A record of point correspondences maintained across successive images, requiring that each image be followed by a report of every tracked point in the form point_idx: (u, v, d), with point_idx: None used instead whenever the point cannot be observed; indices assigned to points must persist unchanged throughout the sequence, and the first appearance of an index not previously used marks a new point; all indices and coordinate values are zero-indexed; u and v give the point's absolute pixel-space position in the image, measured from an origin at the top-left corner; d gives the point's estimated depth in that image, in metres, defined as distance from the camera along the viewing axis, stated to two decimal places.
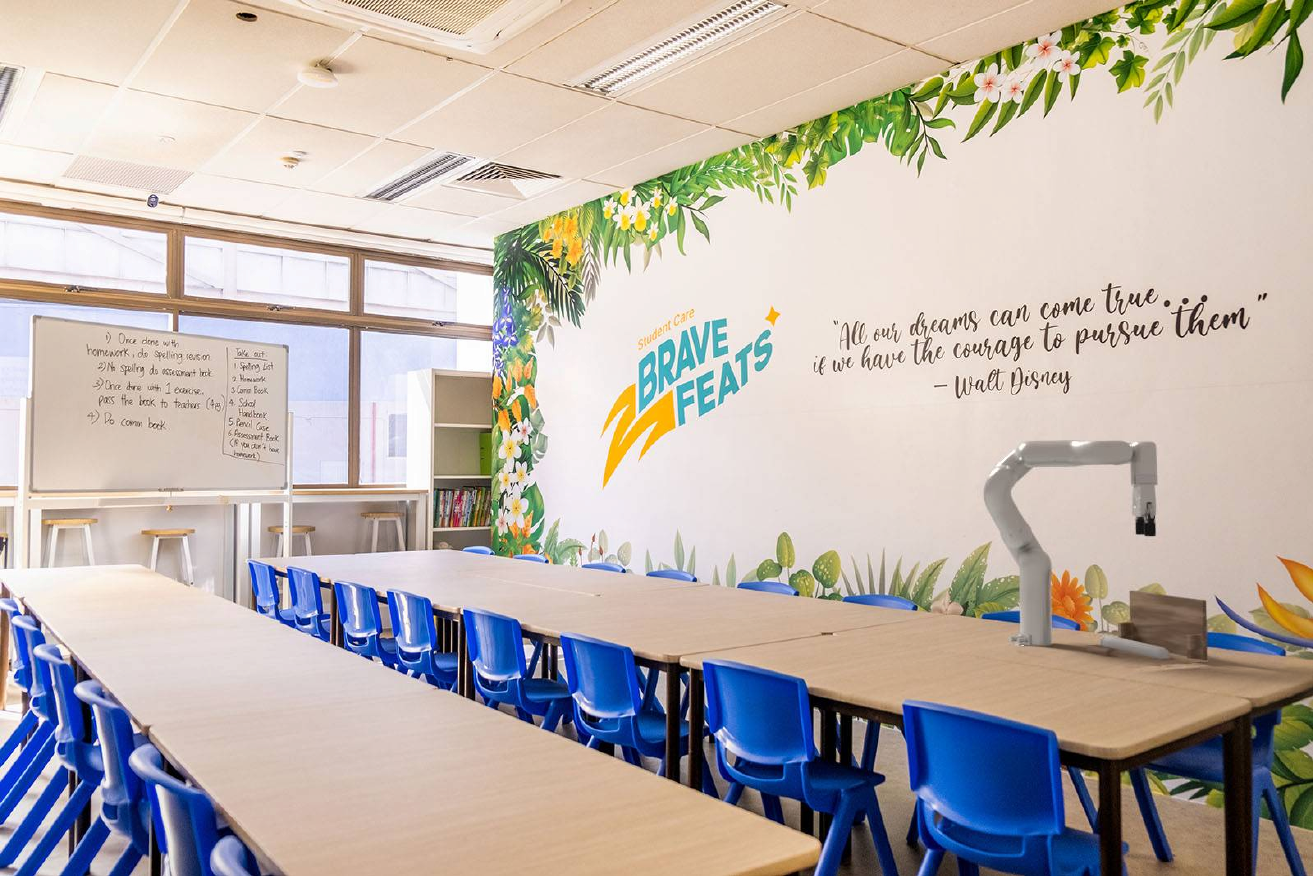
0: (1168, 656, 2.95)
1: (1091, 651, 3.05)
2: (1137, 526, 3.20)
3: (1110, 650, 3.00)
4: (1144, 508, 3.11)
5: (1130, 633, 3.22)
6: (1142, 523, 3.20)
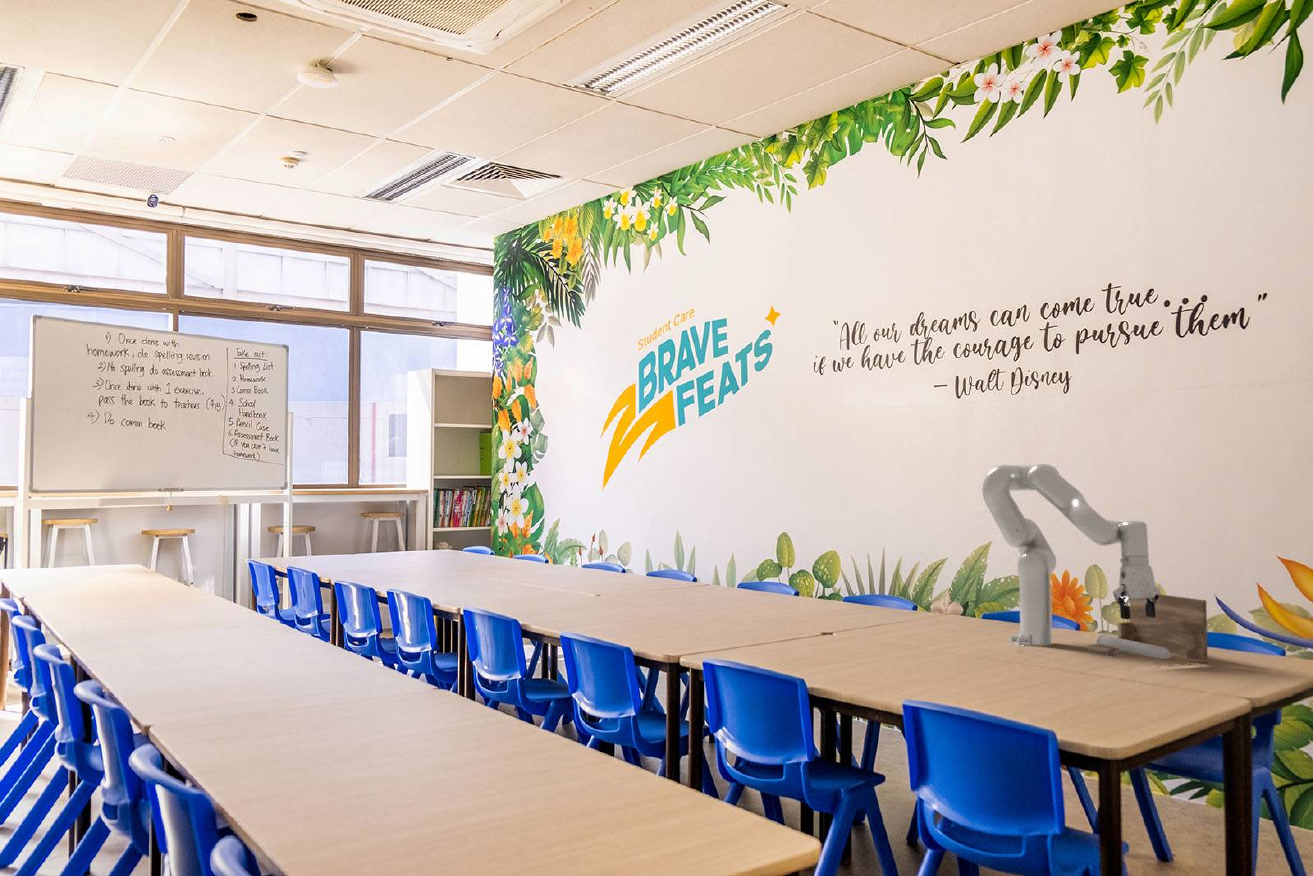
0: (1169, 656, 2.96)
1: (1092, 651, 3.05)
2: None
3: (1112, 649, 3.00)
4: None
5: (1130, 633, 3.22)
6: None
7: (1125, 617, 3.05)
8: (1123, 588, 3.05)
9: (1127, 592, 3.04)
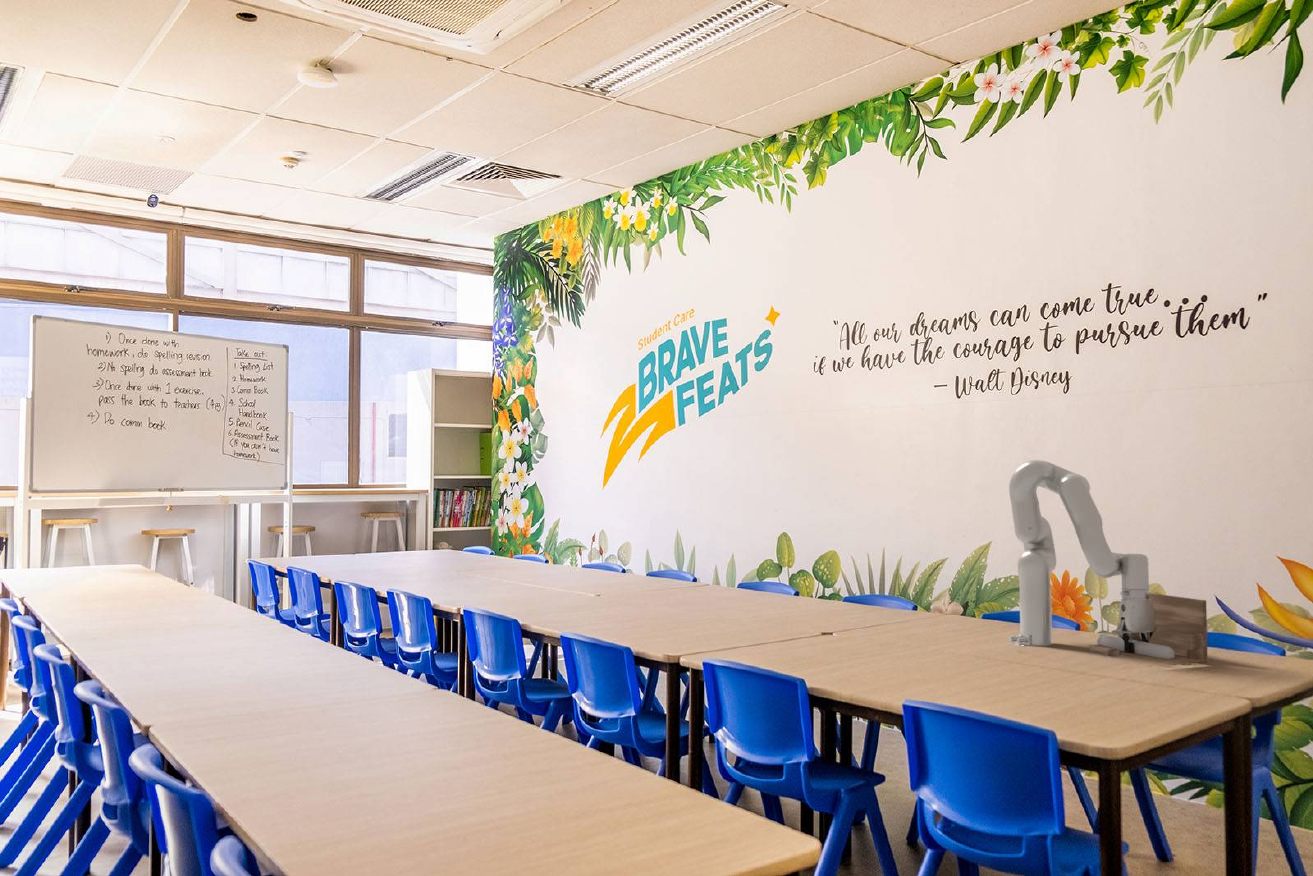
0: (1173, 655, 2.96)
1: (1093, 651, 3.05)
2: None
3: (1112, 650, 2.99)
4: None
5: None
6: None
7: None
8: (1124, 623, 3.05)
9: (1126, 625, 3.04)
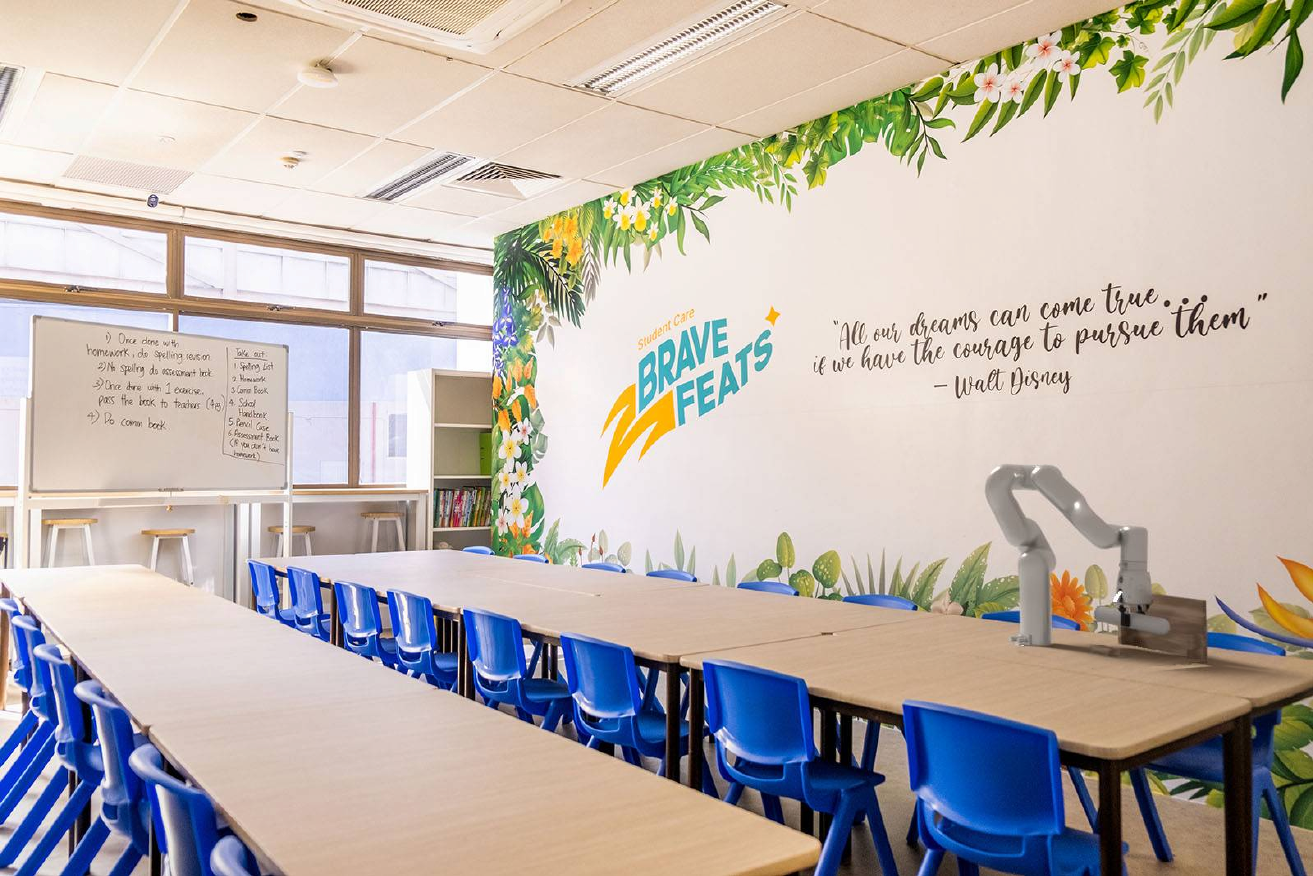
0: (1168, 627, 2.97)
1: (1094, 651, 3.05)
2: None
3: (1112, 650, 2.99)
4: None
5: (1130, 633, 3.22)
6: None
7: (1125, 625, 3.06)
8: (1121, 595, 3.06)
9: (1123, 597, 3.05)
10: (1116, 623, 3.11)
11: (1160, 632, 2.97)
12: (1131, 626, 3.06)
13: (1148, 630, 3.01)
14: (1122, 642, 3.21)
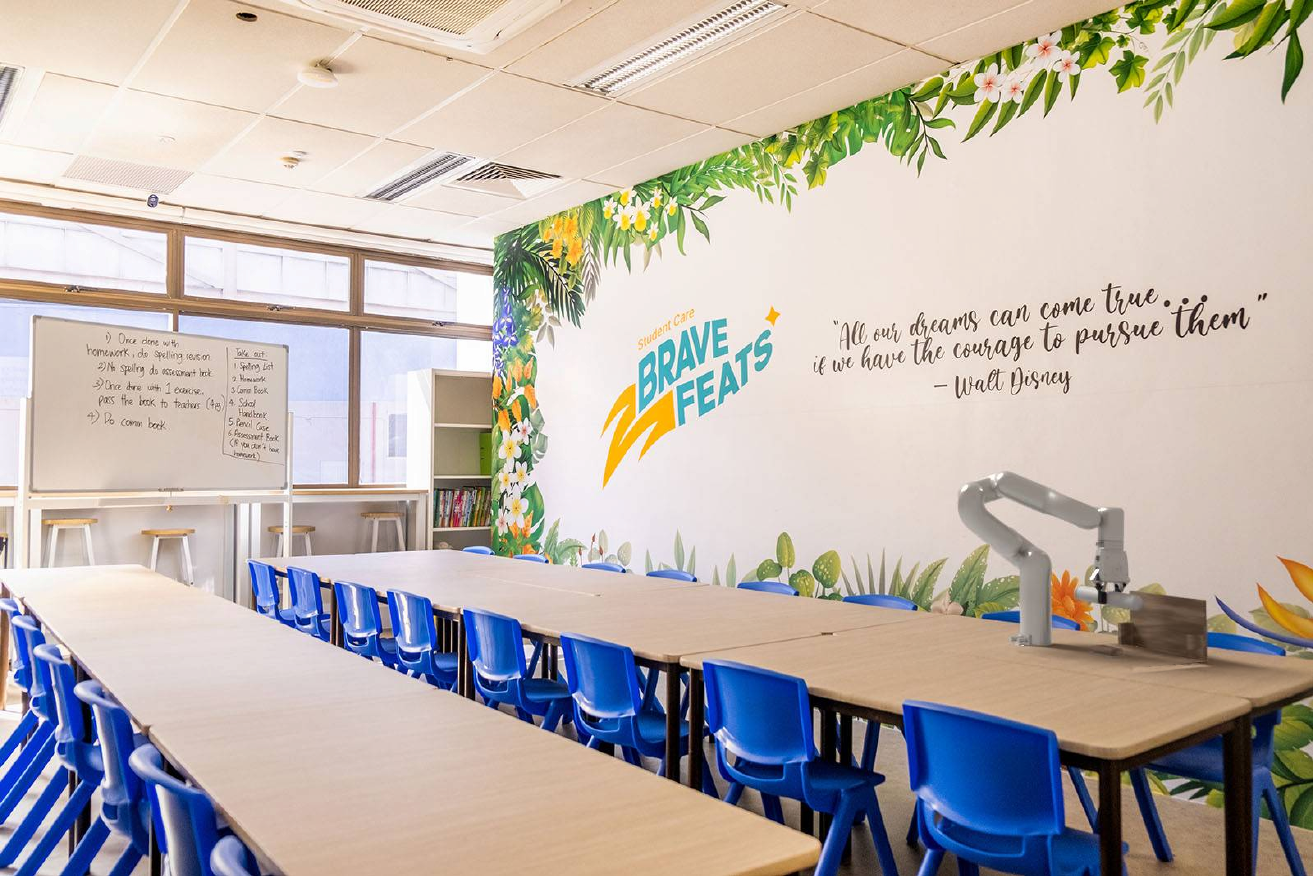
0: (1142, 603, 3.07)
1: (1096, 651, 3.05)
2: None
3: (1115, 650, 2.99)
4: None
5: (1130, 633, 3.22)
6: None
7: (1102, 602, 3.17)
8: (1098, 573, 3.16)
9: (1100, 575, 3.15)
10: (1094, 601, 3.21)
11: (1134, 608, 3.07)
12: (1108, 603, 3.16)
13: (1123, 607, 3.10)
14: (1122, 642, 3.21)
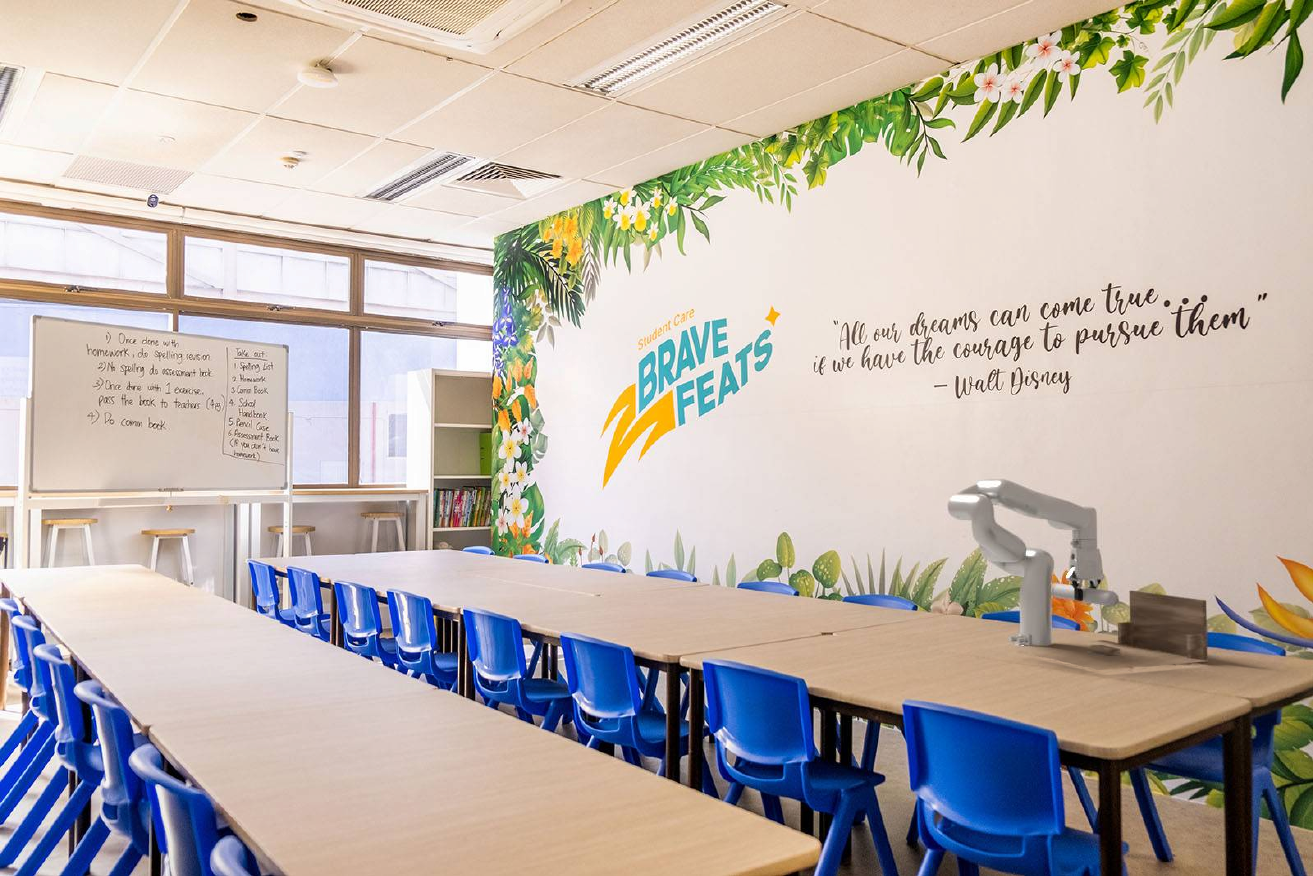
0: (1117, 599, 3.19)
1: (1094, 651, 3.05)
2: None
3: (1113, 650, 2.99)
4: None
5: (1130, 633, 3.22)
6: None
7: (1078, 599, 3.28)
8: (1074, 571, 3.28)
9: (1076, 573, 3.27)
10: (1071, 598, 3.33)
11: (1109, 604, 3.19)
12: (1084, 600, 3.28)
13: (1099, 602, 3.23)
14: (1122, 642, 3.21)
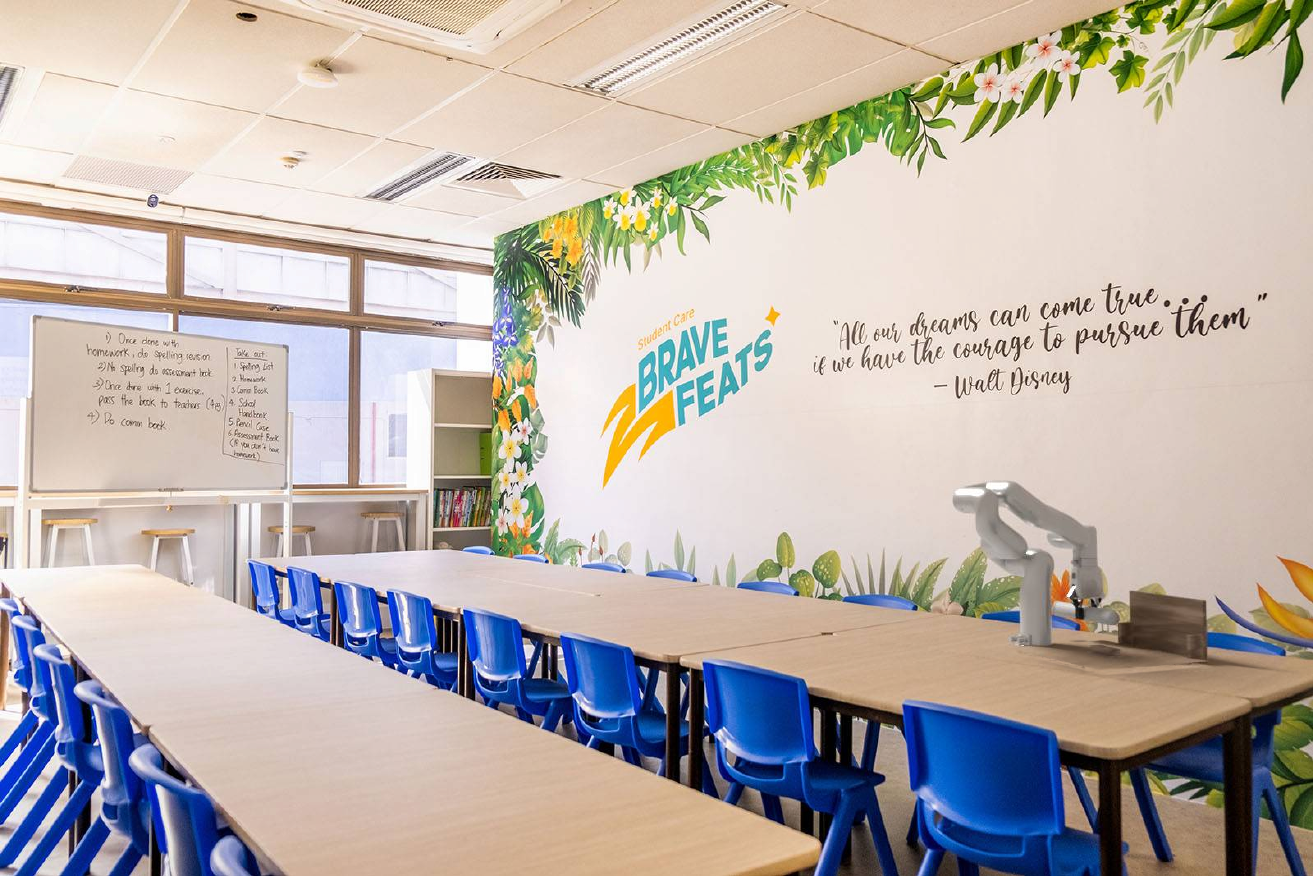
0: (1118, 618, 3.19)
1: (1094, 651, 3.05)
2: None
3: (1113, 650, 2.99)
4: None
5: (1130, 633, 3.22)
6: None
7: (1079, 618, 3.28)
8: (1074, 590, 3.28)
9: (1076, 592, 3.27)
10: (1072, 616, 3.33)
11: (1110, 623, 3.19)
12: (1085, 618, 3.28)
13: (1100, 622, 3.22)
14: (1122, 642, 3.21)
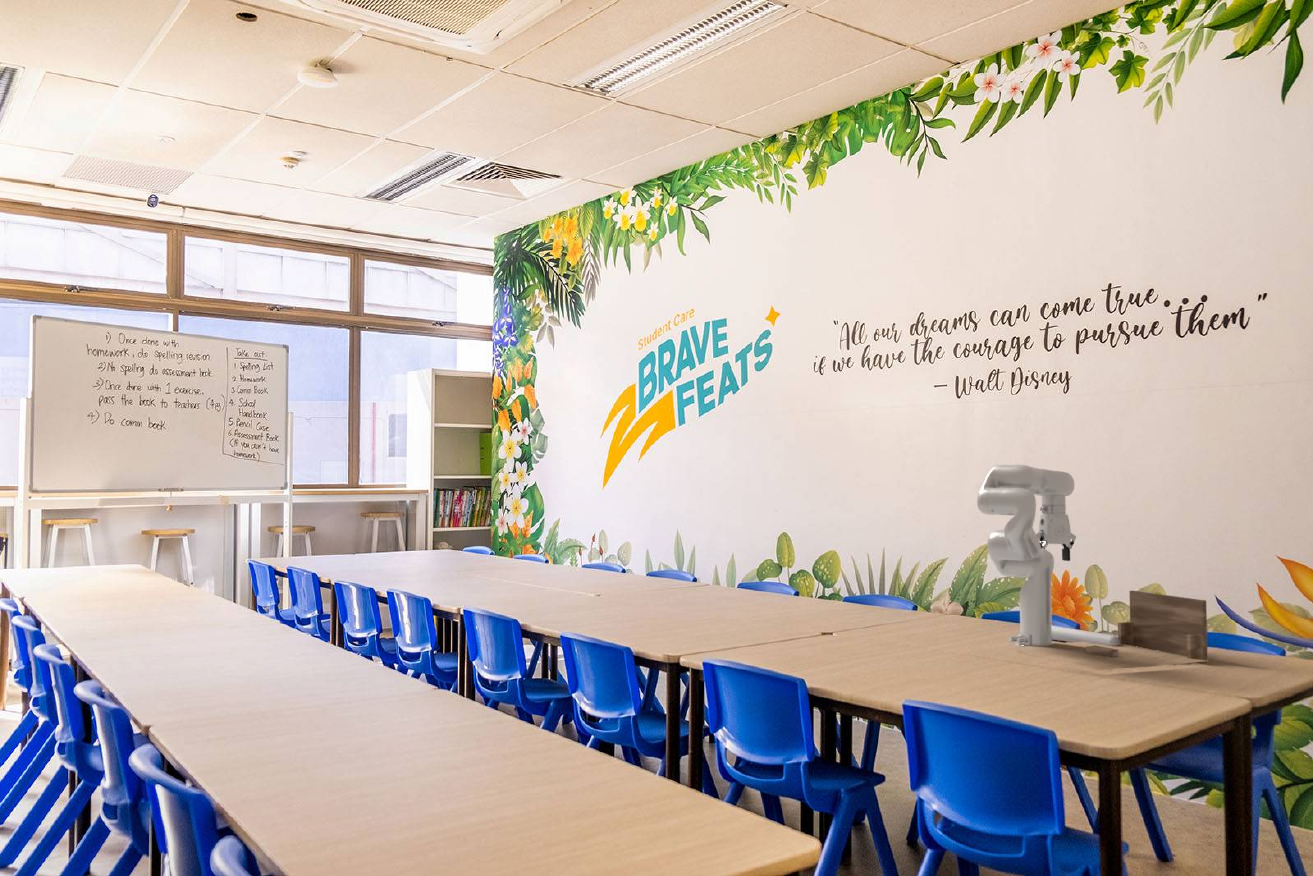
0: (1118, 643, 3.19)
1: (1091, 652, 3.03)
2: None
3: (1112, 651, 2.98)
4: None
5: (1130, 633, 3.22)
6: None
7: None
8: (1041, 533, 3.39)
9: (1045, 537, 3.38)
10: (1068, 641, 3.32)
11: None
12: None
13: None
14: (1122, 642, 3.21)
